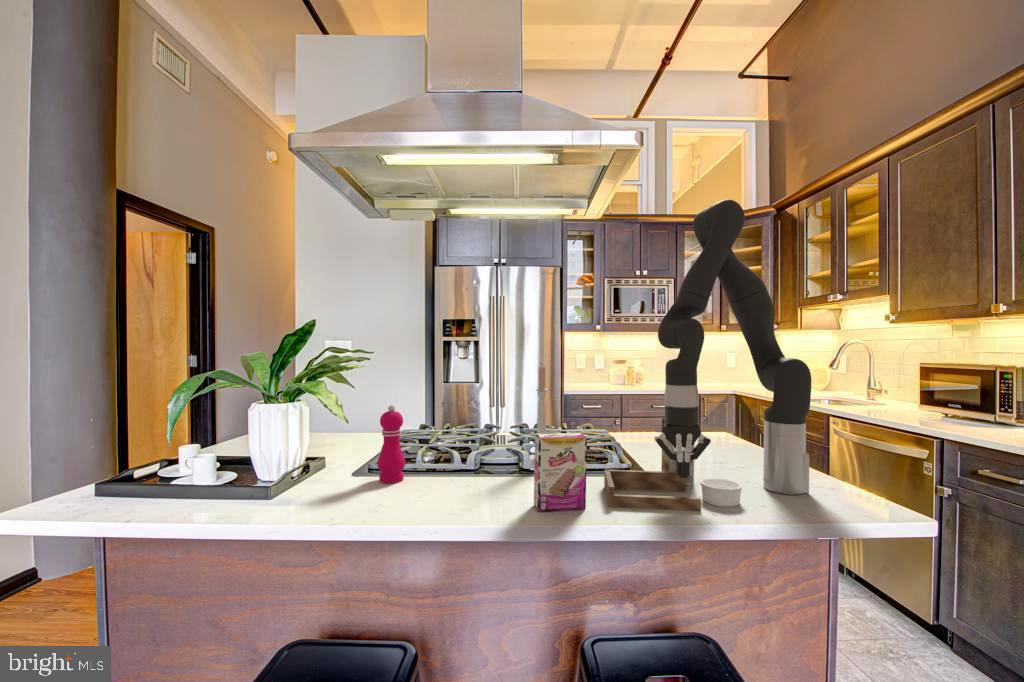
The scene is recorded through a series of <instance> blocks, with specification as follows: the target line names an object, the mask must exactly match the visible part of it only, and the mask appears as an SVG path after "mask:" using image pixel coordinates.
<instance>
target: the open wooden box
mask: <svg viewBox="0 0 1024 682" xmlns="http://www.w3.org/2000/svg"><path fill="white" fill-rule="evenodd" d="M603 471H604V472H603V473H604V475H603V478H604V479H603V480H604V481H603V485H604V486H603V488H604V491H605V496H606V501H607V504H608V507H609V508H610V507H611V508H631V509H632V508H633V509H650V510H651V509H655V510H672V511H673V510H674V511H702V499H701V498H700V497H695V496H694V497H693V496H690V497H689V496H671V495H670V496H668V495H667V496H666V495H665V496H664V495H644V494H643V495H641V494H617V493H615V490H634V491H635V490H636V491H638V490H639V491H660V492H661V491H663V492H687V485H686V478H680V477H679V475H677V473H676V472H664V471H662V470H661V471H660V470H659V471H658V470H657V471H656V470H635V469H634V470H632V469H631V470H630V469H627V470H626V469H604V470H603Z"/></svg>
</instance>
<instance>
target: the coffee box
mask: <svg viewBox="0 0 1024 682" xmlns="http://www.w3.org/2000/svg"><path fill="white" fill-rule="evenodd" d="M664 427H665V417H662V418H661V434H662V433H663V429H664ZM665 439H666V443H665V445H666V446H667V447H668V449H669V450H670V451H671V452H672V453H674V448H673V445H672V444H671V443H670V441H669V440H668V439H667V437H666V438H665ZM694 448H695V443H694V444H693V446H691V452H692V450H693V449H694ZM689 465H690V474H689V476H687V478H686V486H689V485H690V486H695V460H691V461H690V463H689ZM661 471H664V472H676V461H675V460H671V459H670V458H669V457H668V456H667V455H666V453H665V452H664V451H663V450H662V449H661Z"/></svg>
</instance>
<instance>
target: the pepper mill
mask: <svg viewBox="0 0 1024 682" xmlns="http://www.w3.org/2000/svg"><path fill="white" fill-rule="evenodd" d="M403 424H404V418H403V415H402V414H401V412H399V411H396V406H394V405H393V404H391V405H388V408H387V411H385V412H384V413H382V414H381V416H380V419H379V425H380V427H381V428H382V430H381V436H383V444H382V449H381V451H380V454H379V455H378V459H377V468H378V471H380V473H379V475H378V477H379V482H380V483H382V484H397V483H400V482H402V481H403V480H404V477H405V476H404V472H403V471H402V470H404V468H405V467H406V458H405V454H404V453H403V450H402V448H401V442H400V441H401V440H400V437H401V435H402V429H401V427H402V426H403Z"/></svg>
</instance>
